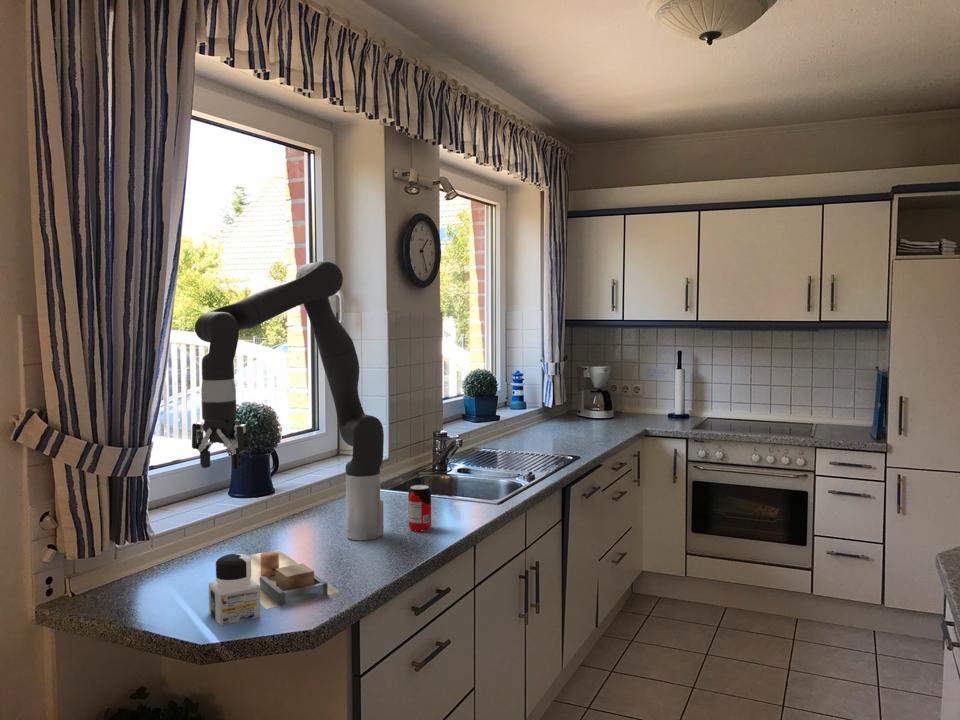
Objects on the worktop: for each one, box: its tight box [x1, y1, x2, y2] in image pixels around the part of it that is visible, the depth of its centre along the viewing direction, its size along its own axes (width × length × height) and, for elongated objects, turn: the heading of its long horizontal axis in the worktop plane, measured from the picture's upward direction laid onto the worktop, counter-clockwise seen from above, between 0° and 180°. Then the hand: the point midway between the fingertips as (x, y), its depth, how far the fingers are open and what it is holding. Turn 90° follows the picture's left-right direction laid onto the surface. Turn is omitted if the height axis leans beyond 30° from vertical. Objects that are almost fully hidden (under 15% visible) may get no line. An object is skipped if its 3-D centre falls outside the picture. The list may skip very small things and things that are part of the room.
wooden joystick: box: [260, 550, 315, 591], centre depth 166 cm, size 6×20×5 cm, turn 35°
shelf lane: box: [213, 549, 341, 610], centre depth 171 cm, size 16×36×4 cm, turn 35°
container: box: [208, 553, 261, 626], centre depth 149 cm, size 8×8×13 cm
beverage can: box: [407, 484, 432, 532], centre depth 214 cm, size 6×6×12 cm
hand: (220, 468), depth 176 cm, fingers open, 8 cm apart
